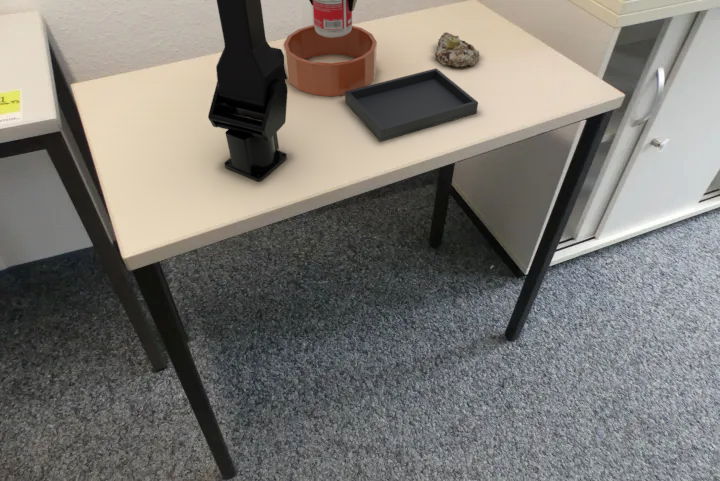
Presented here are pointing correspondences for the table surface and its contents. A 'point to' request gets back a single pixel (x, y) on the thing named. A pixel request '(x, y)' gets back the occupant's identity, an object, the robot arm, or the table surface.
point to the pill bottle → (332, 18)
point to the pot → (330, 75)
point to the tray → (410, 103)
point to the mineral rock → (455, 51)
